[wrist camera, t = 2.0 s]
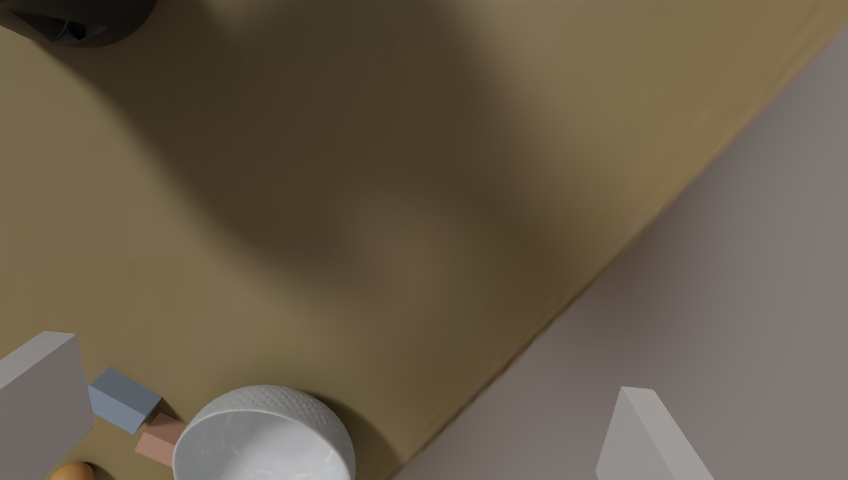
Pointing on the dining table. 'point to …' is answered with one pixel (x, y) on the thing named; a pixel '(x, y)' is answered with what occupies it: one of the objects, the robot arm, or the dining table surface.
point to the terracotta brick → (161, 439)
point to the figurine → (74, 472)
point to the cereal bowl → (264, 439)
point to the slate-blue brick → (121, 400)
